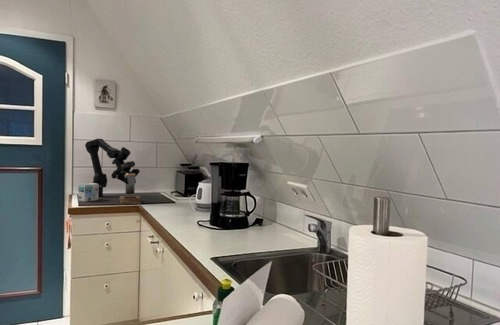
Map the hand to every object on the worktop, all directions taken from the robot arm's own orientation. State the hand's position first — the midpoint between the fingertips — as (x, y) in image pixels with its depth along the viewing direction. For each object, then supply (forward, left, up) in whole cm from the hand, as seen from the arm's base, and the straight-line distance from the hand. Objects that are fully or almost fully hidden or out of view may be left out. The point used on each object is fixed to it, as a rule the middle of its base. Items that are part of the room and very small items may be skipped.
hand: (131, 183), depth 245 cm
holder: (-1, 0, -12) cm, 13 cm away
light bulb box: (-13, -25, -13) cm, 31 cm away
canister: (-1, -1, -7) cm, 7 cm away
